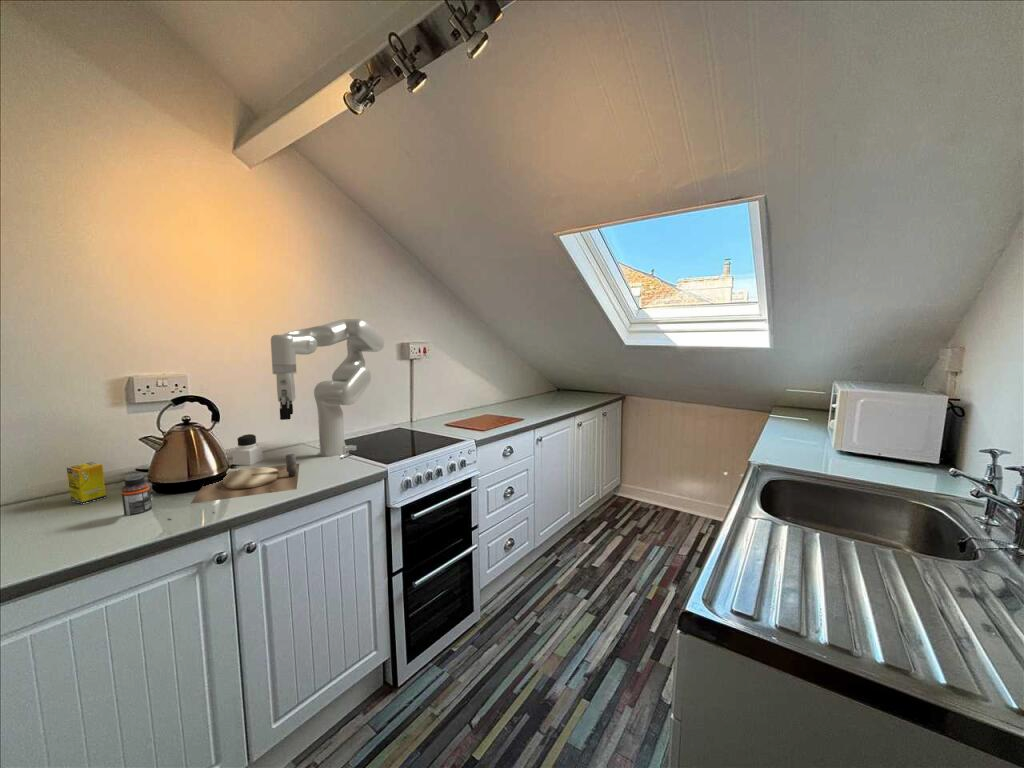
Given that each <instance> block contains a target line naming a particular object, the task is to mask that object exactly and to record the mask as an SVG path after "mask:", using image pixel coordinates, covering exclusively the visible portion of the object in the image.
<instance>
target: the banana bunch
mask: <svg viewBox="0 0 1024 768" xmlns="http://www.w3.org/2000/svg"><path fill="white" fill-rule="evenodd" d="M296 460H297V458H296V454H295V453H289V454H286V455H285V465H286V469H287V470H282V471H278V470H277V469H275V468H268V467H269V466H267V467H263V466H262V467H251V468H247V469H240V470H241V471H238V470H236V471H237V472H234V473H231V474H229V475H227V476H225V477H224V478H223V485H224V486H225V487H227V488H232V489H243V488H251V487H257V486H261V485H265V484H268V483H270V482H273V481H275V480H276V479H277V478H279V477H287V476H294V475H296V474H297V473H296V464H297V461H296Z"/></svg>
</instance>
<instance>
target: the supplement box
mask: <svg viewBox="0 0 1024 768" xmlns="http://www.w3.org/2000/svg"><path fill="white" fill-rule="evenodd" d="M66 474H67V480H68V481H67V482H68V486H69V487H68V489H69V494H70V502H72V501H75V502H74V503H76V502H79V503H78V504H80V503H82V504H81V505H84V504H83V503H86V502H90V501H93V500H96V501H98V500H97V499H100V498H103V499H105V498H104V497H106V498H107V494H106V486H105V478H104V468H103V464H101V463H95V462H92V461H89V462H83V463H81V464H75V465H72V466H68V467H66ZM100 500H101V499H100ZM93 502H94V501H93ZM90 503H91V502H90ZM86 504H87V503H86Z"/></svg>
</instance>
